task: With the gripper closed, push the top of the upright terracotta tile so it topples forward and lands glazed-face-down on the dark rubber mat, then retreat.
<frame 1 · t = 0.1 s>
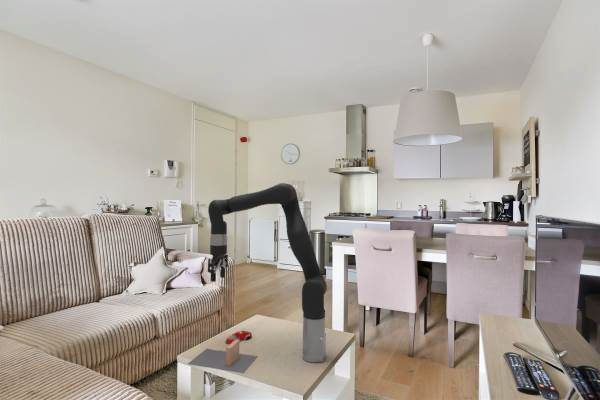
hand: (218, 279, 148), 29 cm above the table, fingers open, 8 cm apart
tile: (232, 361, 131), point 1 cm above the table, touching mat
race car: (238, 341, 152), on the table
mat: (223, 361, 132), on the table
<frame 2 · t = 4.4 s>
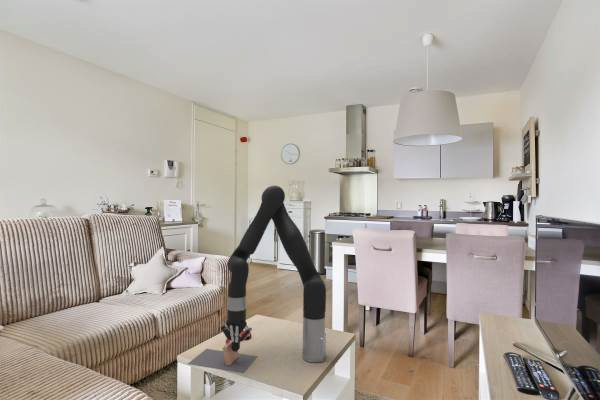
hand: (235, 350, 130), 5 cm above the table, fingers closed
tile: (232, 360, 131), point 1 cm above the table, tilted 13°, touching mat
everything else where it was.
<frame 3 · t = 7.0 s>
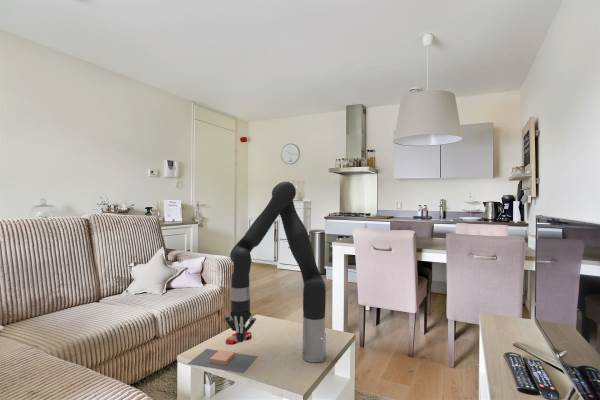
hand: (240, 341, 130), 9 cm above the table, fingers closed
tile: (230, 358, 131), point 2 cm above the table, tilted 90°, touching mat
everything else where it was.
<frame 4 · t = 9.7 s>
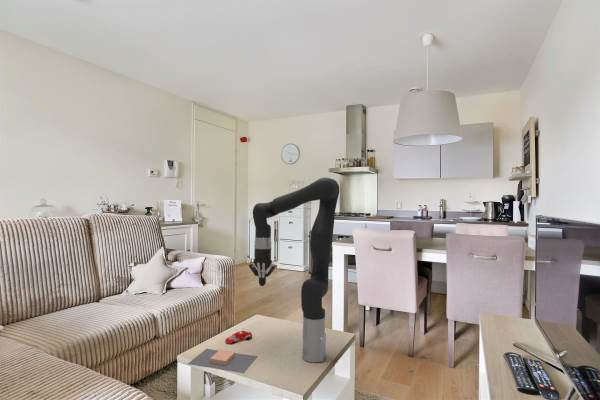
hand: (262, 285, 147), 27 cm above the table, fingers closed
nothing on the table moved.
at the end: tile tilted 90°; tile inside the target area (3.5 cm from its centre), point 1.6 cm above the table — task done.
